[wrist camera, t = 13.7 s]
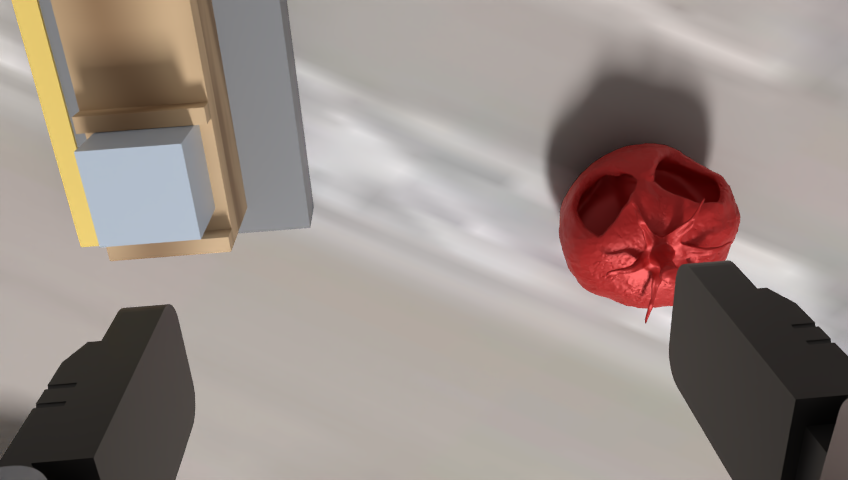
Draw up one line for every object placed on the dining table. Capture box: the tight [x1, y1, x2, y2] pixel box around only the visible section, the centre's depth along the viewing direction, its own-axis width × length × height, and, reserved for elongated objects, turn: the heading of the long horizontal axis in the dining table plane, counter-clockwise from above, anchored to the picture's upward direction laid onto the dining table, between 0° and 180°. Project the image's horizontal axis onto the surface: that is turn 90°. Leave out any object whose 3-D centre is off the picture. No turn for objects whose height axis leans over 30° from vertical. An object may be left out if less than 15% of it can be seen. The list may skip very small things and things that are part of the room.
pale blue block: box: [74, 125, 215, 247], centre depth 36 cm, size 5×5×4 cm
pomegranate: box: [559, 143, 740, 323], centre depth 44 cm, size 10×10×9 cm
